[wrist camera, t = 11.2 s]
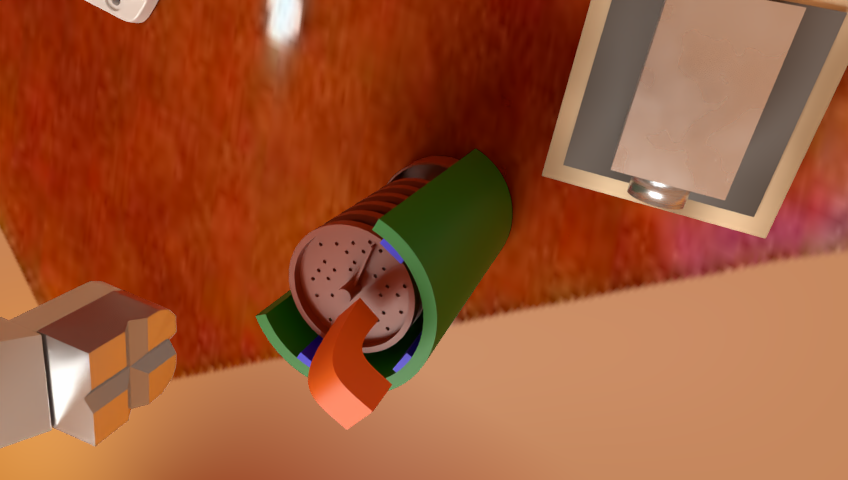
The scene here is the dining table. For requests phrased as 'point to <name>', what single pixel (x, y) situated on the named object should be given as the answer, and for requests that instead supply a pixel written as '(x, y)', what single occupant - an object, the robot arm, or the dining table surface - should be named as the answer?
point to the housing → (701, 96)
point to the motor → (388, 280)
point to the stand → (771, 141)
